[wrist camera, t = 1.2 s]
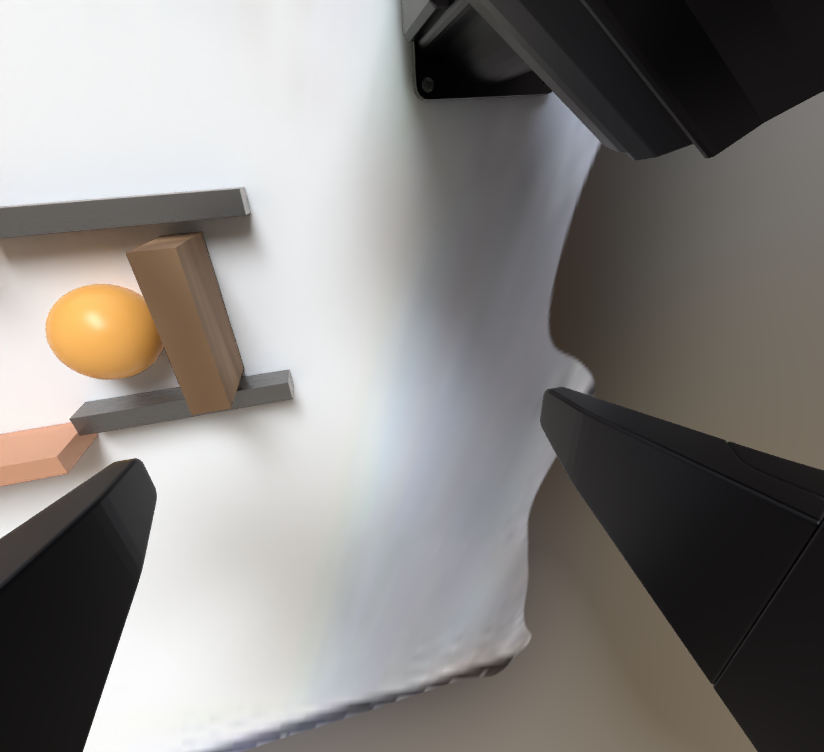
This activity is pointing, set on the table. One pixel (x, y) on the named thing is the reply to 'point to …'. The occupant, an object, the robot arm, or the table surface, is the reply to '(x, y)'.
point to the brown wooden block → (190, 318)
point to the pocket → (40, 452)
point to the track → (134, 213)
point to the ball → (103, 332)
